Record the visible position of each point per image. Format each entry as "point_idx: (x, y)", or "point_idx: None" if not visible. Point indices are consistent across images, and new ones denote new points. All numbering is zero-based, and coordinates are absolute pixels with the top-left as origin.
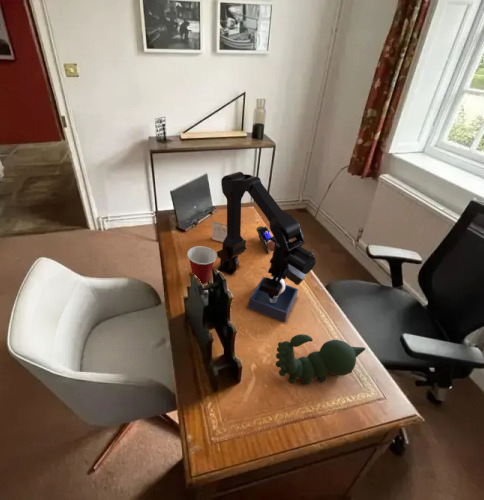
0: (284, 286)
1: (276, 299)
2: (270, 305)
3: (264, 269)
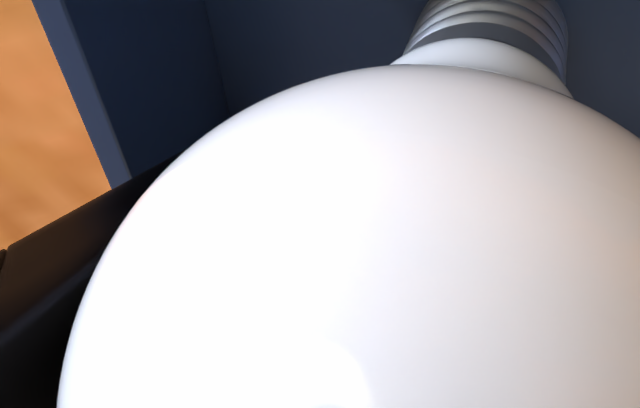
0: (430, 319)
1: (518, 21)
2: (606, 37)
3: (19, 219)
